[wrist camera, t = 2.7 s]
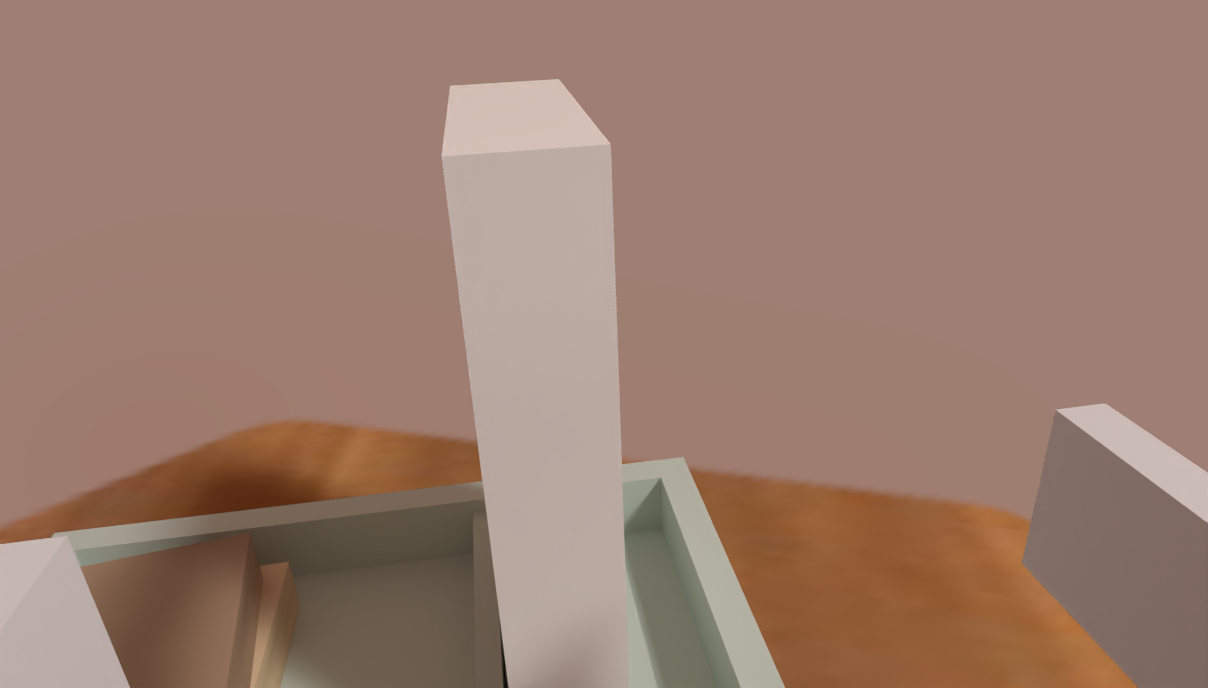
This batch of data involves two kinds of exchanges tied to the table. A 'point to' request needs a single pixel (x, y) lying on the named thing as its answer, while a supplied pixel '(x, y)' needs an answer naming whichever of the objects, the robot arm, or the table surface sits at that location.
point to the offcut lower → (274, 625)
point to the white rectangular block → (543, 372)
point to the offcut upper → (182, 613)
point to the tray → (472, 585)
